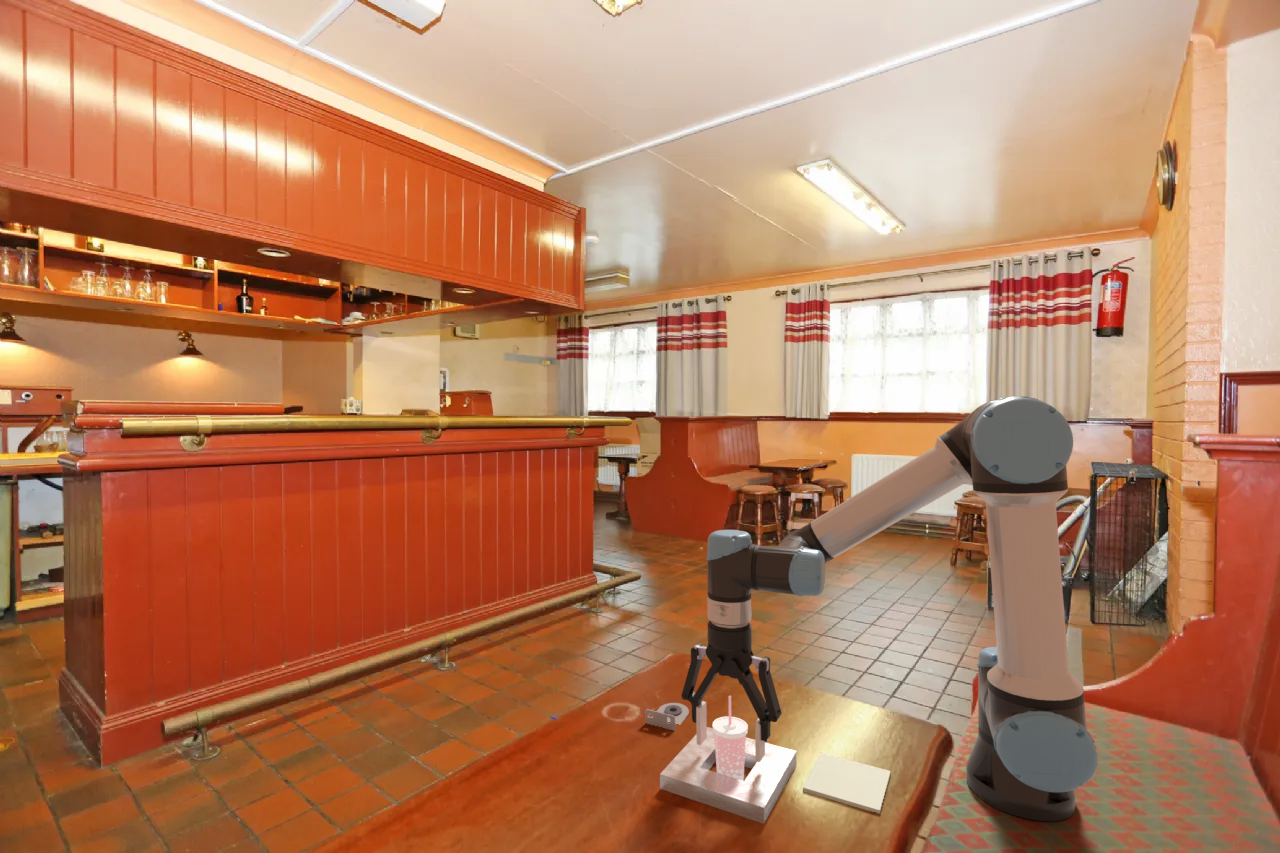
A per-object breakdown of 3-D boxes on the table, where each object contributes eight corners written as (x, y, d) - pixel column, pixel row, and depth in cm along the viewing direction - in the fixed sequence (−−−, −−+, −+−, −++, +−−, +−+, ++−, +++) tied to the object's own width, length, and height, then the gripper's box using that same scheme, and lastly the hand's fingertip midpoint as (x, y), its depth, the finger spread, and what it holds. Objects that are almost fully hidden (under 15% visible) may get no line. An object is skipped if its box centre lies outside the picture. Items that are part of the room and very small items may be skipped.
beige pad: (890, 774, 105) (890, 771, 105) (879, 814, 94) (879, 810, 94) (820, 755, 111) (820, 752, 111) (802, 791, 100) (802, 787, 100)
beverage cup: (755, 782, 103) (754, 700, 102) (723, 790, 100) (723, 707, 100) (736, 763, 108) (736, 685, 108) (706, 770, 106) (705, 691, 106)
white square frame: (796, 764, 108) (796, 750, 108) (764, 824, 92) (764, 807, 92) (703, 738, 117) (703, 726, 117) (660, 788, 101) (659, 773, 101)
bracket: (693, 711, 129) (693, 695, 129) (674, 733, 120) (674, 716, 120) (665, 704, 132) (665, 689, 132) (644, 725, 123) (644, 709, 123)
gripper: (661, 617, 106) (662, 742, 107) (788, 639, 95) (788, 779, 95) (679, 605, 113) (680, 723, 113) (800, 625, 102) (801, 756, 102)
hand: (730, 749), depth 104 cm, fingers open, 10 cm apart
